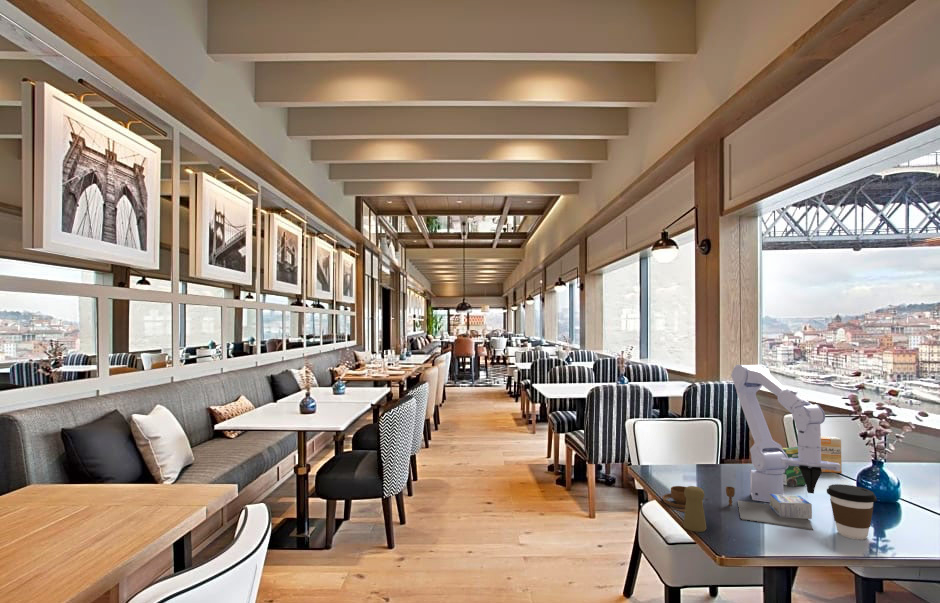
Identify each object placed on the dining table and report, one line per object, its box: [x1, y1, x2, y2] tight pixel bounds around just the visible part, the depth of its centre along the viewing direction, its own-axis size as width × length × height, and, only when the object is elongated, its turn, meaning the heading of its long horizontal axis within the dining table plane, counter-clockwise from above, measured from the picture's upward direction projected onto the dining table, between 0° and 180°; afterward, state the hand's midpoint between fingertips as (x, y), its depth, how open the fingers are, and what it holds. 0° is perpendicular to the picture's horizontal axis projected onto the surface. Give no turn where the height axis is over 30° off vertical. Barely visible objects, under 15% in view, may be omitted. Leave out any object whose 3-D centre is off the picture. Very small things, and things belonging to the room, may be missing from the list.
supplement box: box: [821, 436, 843, 474], centre depth 200 cm, size 8×5×13 cm, turn 81°
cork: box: [682, 485, 707, 533], centre depth 143 cm, size 6×6×11 cm
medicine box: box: [769, 494, 813, 520], centre depth 153 cm, size 8×4×9 cm
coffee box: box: [782, 446, 806, 488], centre depth 182 cm, size 8×3×13 cm, turn 101°
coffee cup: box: [826, 483, 877, 541], centre depth 139 cm, size 11×11×12 cm
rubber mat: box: [737, 500, 814, 531], centre depth 153 cm, size 18×17×1 cm
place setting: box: [662, 485, 736, 513], centre depth 161 cm, size 18×20×6 cm
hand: (810, 492), depth 152 cm, fingers closed
